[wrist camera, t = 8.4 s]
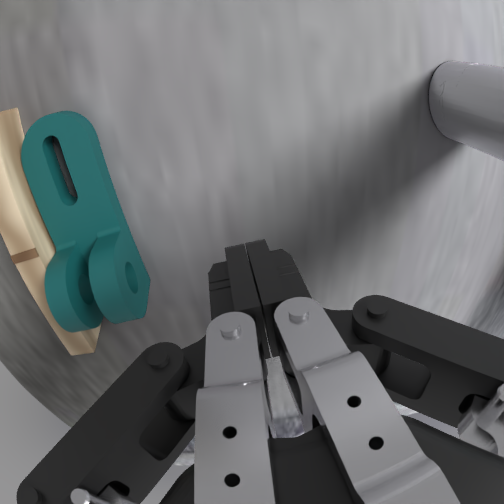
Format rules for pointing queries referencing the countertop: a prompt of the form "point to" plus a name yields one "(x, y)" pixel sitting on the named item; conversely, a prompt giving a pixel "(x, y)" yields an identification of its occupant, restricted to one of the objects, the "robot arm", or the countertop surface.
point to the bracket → (83, 228)
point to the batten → (30, 230)
